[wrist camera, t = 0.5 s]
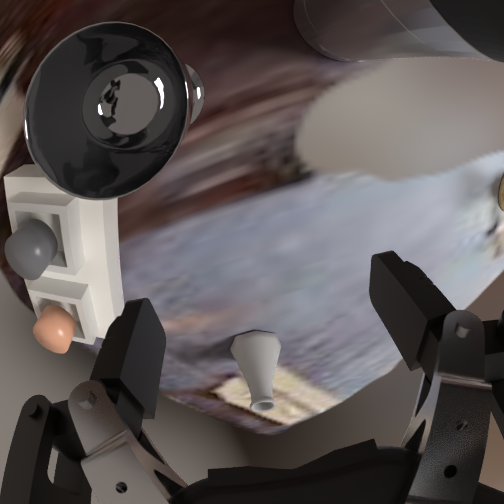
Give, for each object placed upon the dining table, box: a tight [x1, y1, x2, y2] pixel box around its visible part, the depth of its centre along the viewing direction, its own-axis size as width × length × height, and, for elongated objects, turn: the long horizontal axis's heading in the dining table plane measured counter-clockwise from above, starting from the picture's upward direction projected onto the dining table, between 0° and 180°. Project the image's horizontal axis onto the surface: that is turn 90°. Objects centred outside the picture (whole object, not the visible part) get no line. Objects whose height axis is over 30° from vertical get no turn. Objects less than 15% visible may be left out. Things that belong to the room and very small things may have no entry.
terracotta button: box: [33, 305, 77, 353], centre depth 24 cm, size 4×4×3 cm
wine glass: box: [23, 21, 205, 201], centre depth 16 cm, size 8×8×15 cm
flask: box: [230, 331, 281, 412], centre depth 35 cm, size 7×7×10 cm
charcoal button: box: [5, 219, 58, 280], centre depth 19 cm, size 4×4×3 cm
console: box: [4, 164, 124, 345], centre depth 26 cm, size 20×12×6 cm, turn 169°
